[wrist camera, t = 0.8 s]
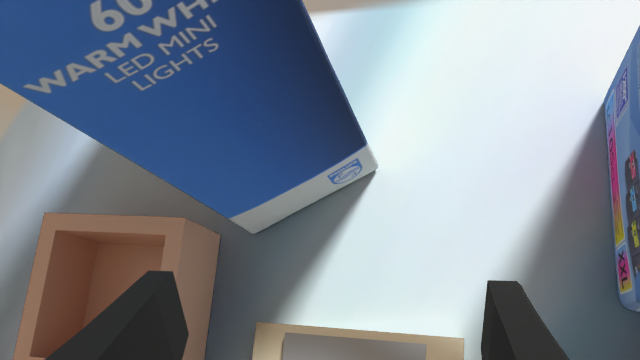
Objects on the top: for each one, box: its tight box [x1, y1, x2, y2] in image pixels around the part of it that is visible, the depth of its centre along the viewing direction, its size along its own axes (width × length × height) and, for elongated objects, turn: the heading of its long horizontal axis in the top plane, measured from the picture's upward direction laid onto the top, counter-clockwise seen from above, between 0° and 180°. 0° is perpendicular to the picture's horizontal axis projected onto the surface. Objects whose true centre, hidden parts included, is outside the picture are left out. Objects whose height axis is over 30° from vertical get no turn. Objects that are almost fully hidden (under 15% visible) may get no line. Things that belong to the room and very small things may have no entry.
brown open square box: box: [13, 212, 221, 360], centre depth 28 cm, size 7×7×4 cm
